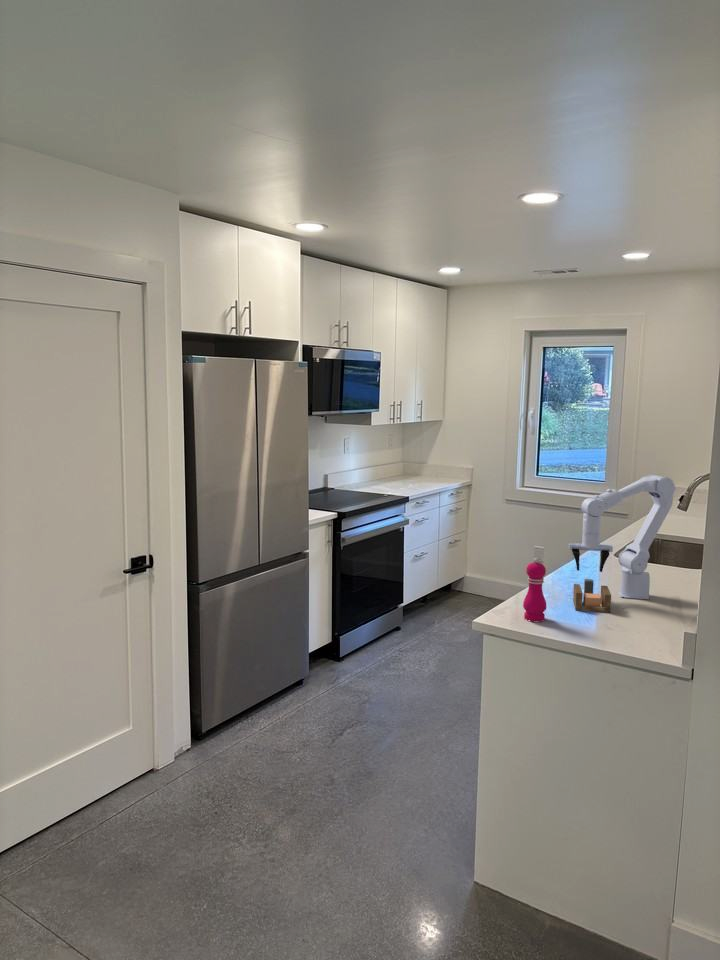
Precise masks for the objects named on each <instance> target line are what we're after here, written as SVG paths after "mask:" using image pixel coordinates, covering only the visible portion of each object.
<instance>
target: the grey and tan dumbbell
mask: <svg viewBox="0 0 720 960" xmlns="http://www.w3.org/2000/svg"><path fill="white" fill-rule="evenodd" d="M583 583H584V584H583V596H582V605H584V606H598V607H601V594H600V593H594V580H593V579H589V578H584V582H583Z"/></svg>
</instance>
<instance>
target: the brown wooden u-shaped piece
mask: <svg viewBox="0 0 720 960" xmlns="http://www.w3.org/2000/svg"><path fill="white" fill-rule="evenodd" d="M608 586H609V585H600V598H601V604H600V607H598V606H584V605H583V597H584V592H583V590H582V587H581V584H580V583H574V584H573V595H572V596H573V597H572V601H573V602H572V603H573V606H574V610H575V611H578V612H581V611H582V612H593V613H605V612H606V613H605V614H607V613H609V614H611V611H612V610H611V609H612V593H611V592H610V589H609V587H608ZM601 605H602V606H601Z"/></svg>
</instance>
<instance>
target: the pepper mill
mask: <svg viewBox="0 0 720 960" xmlns="http://www.w3.org/2000/svg"><path fill="white" fill-rule="evenodd" d="M525 571H526V575H527V576H528V577H527V582H528V588H527V589H528V590H527V592H526V594H525V597H524V600H523V602H522V603H523V604H522V606H523V609H524V610H525V611H524V616H523V617H524V620H526V619H527V620H526V621H528V620H530V621H529V622H531V621H541V622H543V620H544V621H545V617H546V616H545V613H544V612H545V611H546V610H547V601H546V598H545V596H544V593H543V592H544V591H543V584H544V582H545V581H544V580H545V579H544V577H545V575H547V573H546V572H547V570H546V567H545V565H544V564H542V563H541V562H540V559H539V558H538V557H534V558H533V562H530V563H528V565H527V566H526V570H525Z"/></svg>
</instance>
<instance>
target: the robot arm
mask: <svg viewBox="0 0 720 960" xmlns="http://www.w3.org/2000/svg"><path fill="white" fill-rule="evenodd" d="M676 490H677V488H676V486H675V483H674V481H673V479H672V478H670V477H667V476H660V475H656V474H654V473H652V474H648V475H647V476H642V477H641V478H640V479H639V480H635V481H634V482H632V483H631V484H628V485H627V486H625V487H622V488H620V489H618V490H617V489H614V488H612V489H611V488H607V489H606V490H605V492H603V493H601V494H595V495H594V497H592V498H591V497H588V498H585V499H584V500H583V501H582V503H581V505H580V506H579V507H580V511H581V512H582V514H583V515H582V516H583V518H582V534H581V535H582V537H581V540H582V541H581V542H580V543H578V542H577V543H575V542H574V543H573V542H572V543H568V550H569V551H571V552H572V554H573V557H574V559H575V566H576V570H577V571H580V557H581V553H580V551H590V552H591V551H593V552H594V551H595V552H600V556H599V557H600V560H599V561H600V562H599V572H600V573H603V570H604V566H605V564H606V562H607V559H608V558H609V557H610V553H613V549H614V547H613V545H608V544H600V539H601V537H600V536H601V534H600V533H601V516H602V515H603V514H604V512H605V511H608V510H609V509H612V508H614V507H617V506H619V505H620V504H622V501H623V500H624V499H626V498H629V497H631V496H634V495H637V494H640V493H643V492H647V493H648V494H649V496H650V497H651V500H652V502H653V504H652V507H651V508H650V510H649V513H648V514H647V516H646V518H645V520H644V522H643V523H642V525H641V527H640V529H639V531H638V532H637V535H636V536H635V538H634V540H633V542H631V543H630V544H628V545H626V547H625V548H624V550H622V551H621V552H620V553H619V554H618V556H617V557H618V558H617V559H618V560H617V561H618V563H619V565H620V567H621V569H620V570H621V571H620V587H619V589H618V590H617V592H618V594H619V598H622V597H624V599H638V600H650V585H651V584H650V582H651V581H650V580H651V579H650V578H651V577H650V573H649V572H648V571H646V570H647V568H648V565H649V564H648V563H649V562H648V561H649V559H650V557H651V556H650V552H649V549H650V547H651V545H652V544H653V541H654V540H655V538H656V536H657V534H658V532H659V530H660V528H661V526H662V525H663V523H664V521H665V520H666V518H667V516H668V514H669V512H670V510H671V509H672V506H673V500H674V493H675V491H676Z"/></svg>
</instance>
